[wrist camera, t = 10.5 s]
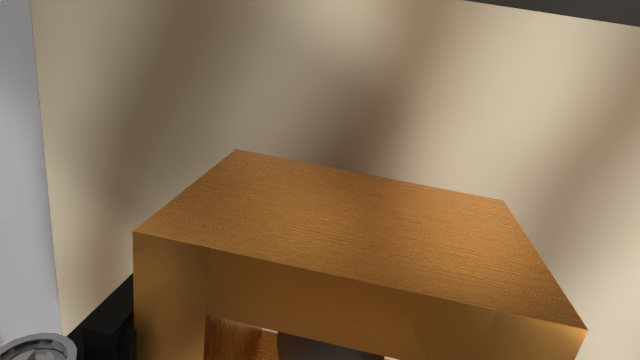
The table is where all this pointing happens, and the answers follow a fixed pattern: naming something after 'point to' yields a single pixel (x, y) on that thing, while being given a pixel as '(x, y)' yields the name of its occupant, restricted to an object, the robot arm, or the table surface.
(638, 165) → the board
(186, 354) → the orange wooden open box
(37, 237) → the table surface
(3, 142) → the table surface
